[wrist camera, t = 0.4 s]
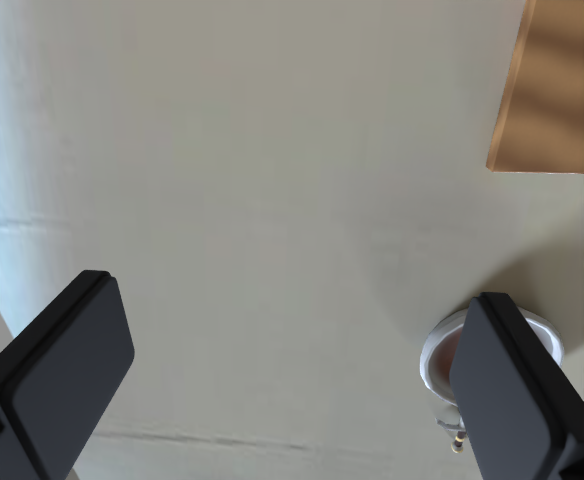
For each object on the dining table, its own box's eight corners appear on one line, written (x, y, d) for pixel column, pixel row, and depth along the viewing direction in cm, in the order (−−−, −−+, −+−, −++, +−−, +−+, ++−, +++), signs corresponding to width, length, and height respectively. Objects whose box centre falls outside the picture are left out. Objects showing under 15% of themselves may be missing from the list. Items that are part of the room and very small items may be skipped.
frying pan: (400, 455, 57) (433, 311, 43) (397, 437, 60) (427, 295, 46) (518, 463, 56) (591, 317, 42) (510, 444, 59) (576, 301, 45)
